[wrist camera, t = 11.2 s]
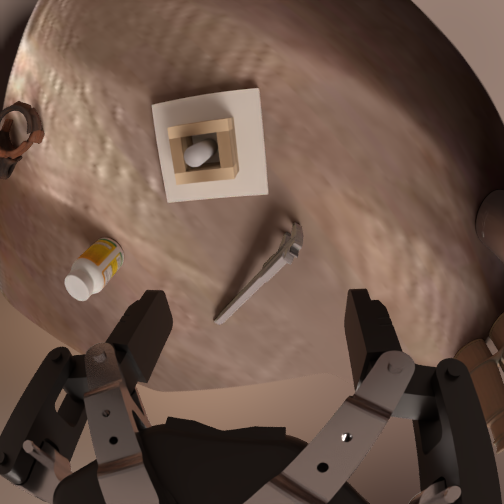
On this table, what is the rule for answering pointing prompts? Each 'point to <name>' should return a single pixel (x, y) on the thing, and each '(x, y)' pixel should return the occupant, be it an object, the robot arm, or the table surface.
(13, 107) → the brown curved piece
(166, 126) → the peg base plate
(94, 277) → the supplement bottle
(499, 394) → the binoculars
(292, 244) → the caliper
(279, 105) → the table surface
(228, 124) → the hollow block
